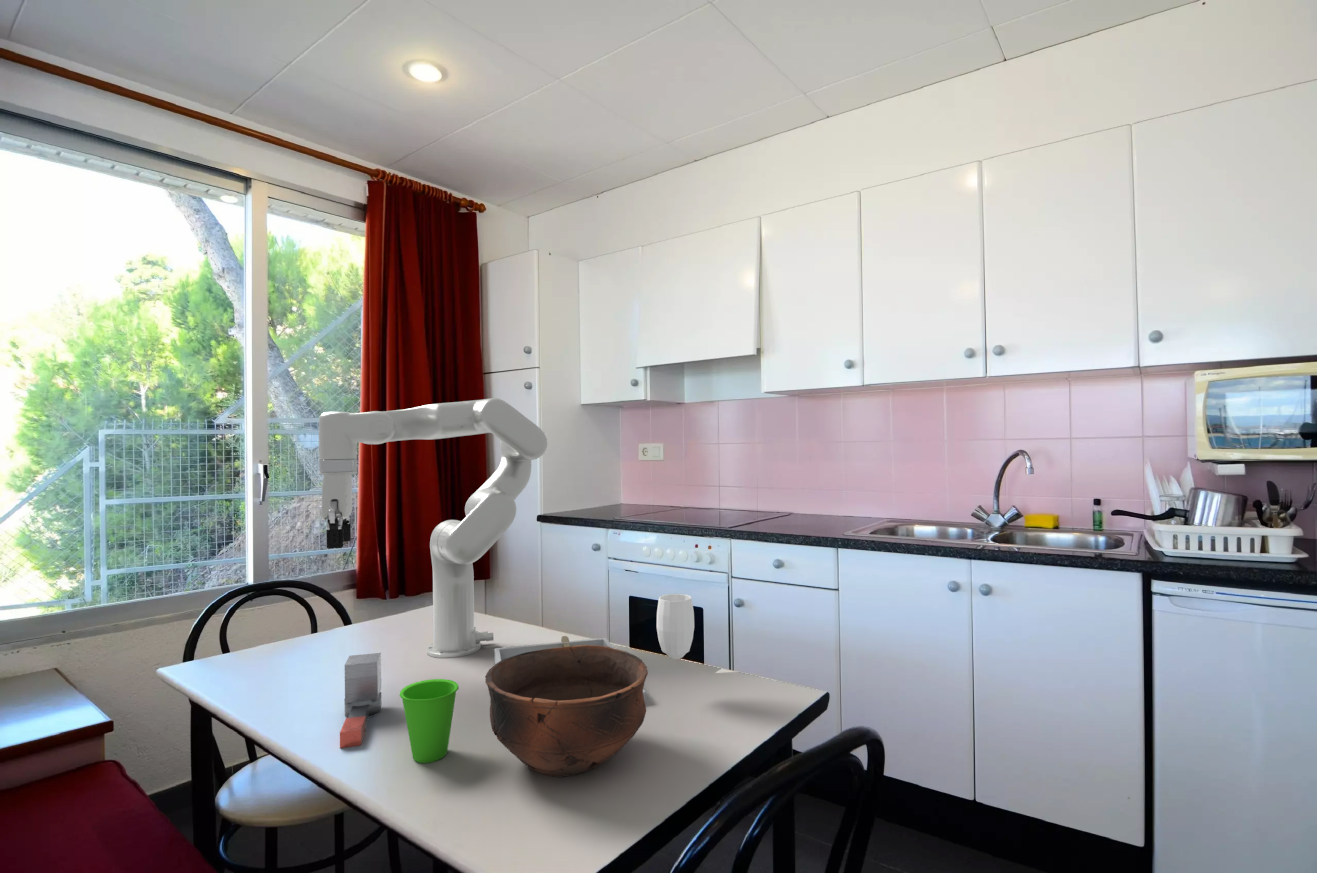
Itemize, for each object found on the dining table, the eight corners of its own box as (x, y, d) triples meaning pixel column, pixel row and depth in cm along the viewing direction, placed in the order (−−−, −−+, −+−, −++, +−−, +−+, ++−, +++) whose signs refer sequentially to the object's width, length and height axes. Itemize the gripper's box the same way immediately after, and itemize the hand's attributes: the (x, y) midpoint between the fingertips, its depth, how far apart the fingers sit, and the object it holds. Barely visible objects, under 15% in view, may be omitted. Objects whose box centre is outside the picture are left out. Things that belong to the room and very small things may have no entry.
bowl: (503, 824, 89) (501, 710, 89) (475, 746, 111) (474, 655, 111) (673, 783, 99) (672, 681, 99) (616, 719, 121) (615, 636, 121)
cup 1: (425, 776, 101) (425, 704, 101) (388, 761, 106) (387, 692, 106) (471, 752, 109) (470, 685, 109) (434, 739, 114) (433, 675, 114)
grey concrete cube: (349, 692, 128) (349, 655, 128) (381, 688, 130) (380, 652, 130) (345, 703, 123) (344, 665, 123) (377, 699, 124) (377, 661, 124)
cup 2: (697, 713, 123) (696, 601, 123) (658, 715, 123) (657, 602, 123) (693, 698, 131) (692, 592, 131) (656, 699, 130) (655, 593, 130)
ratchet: (347, 707, 128) (347, 676, 128) (383, 703, 130) (383, 672, 130) (329, 749, 111) (329, 713, 111) (371, 744, 113) (370, 708, 113)
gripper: (327, 466, 155) (328, 540, 155) (311, 469, 139) (311, 552, 139) (362, 465, 157) (363, 538, 157) (350, 468, 141) (351, 549, 141)
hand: (339, 544), depth 148 cm, fingers open, 9 cm apart
